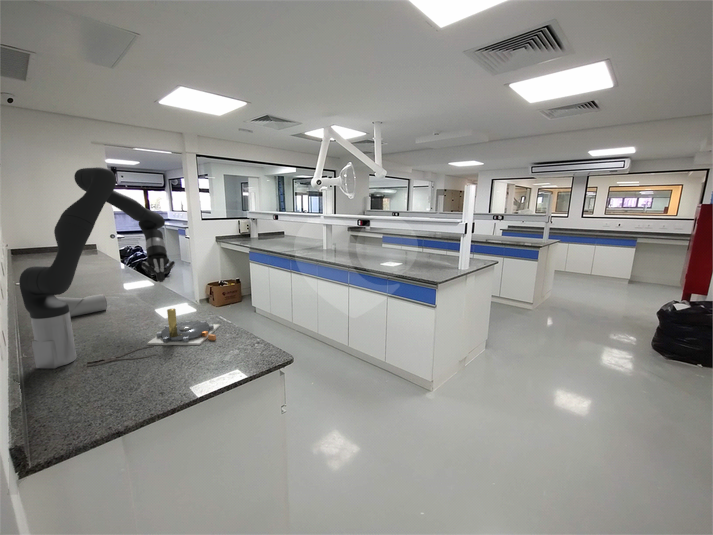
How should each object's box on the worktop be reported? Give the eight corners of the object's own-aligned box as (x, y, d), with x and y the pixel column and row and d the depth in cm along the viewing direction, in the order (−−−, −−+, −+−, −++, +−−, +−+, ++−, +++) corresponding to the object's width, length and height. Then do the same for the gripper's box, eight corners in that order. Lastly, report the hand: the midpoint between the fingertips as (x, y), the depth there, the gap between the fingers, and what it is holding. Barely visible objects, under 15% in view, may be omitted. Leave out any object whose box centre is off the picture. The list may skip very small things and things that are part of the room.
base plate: (210, 345, 120) (209, 340, 120) (147, 344, 119) (146, 339, 119) (229, 326, 140) (228, 322, 139) (175, 325, 139) (174, 321, 138)
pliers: (161, 352, 112) (90, 373, 97) (161, 354, 113) (91, 375, 97) (152, 344, 118) (84, 362, 103) (152, 346, 119) (85, 364, 104)
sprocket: (224, 326, 136) (222, 299, 134) (186, 346, 116) (183, 315, 114) (186, 320, 142) (184, 295, 140) (144, 338, 122) (140, 308, 120)
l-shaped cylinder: (55, 320, 137) (109, 309, 154) (50, 297, 137) (105, 289, 153) (46, 320, 148) (98, 310, 164) (41, 299, 147) (94, 290, 163)
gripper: (138, 245, 132) (142, 277, 125) (173, 243, 140) (179, 274, 133) (138, 255, 138) (143, 287, 130) (172, 253, 146) (178, 283, 138)
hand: (161, 280), depth 132 cm, fingers closed
